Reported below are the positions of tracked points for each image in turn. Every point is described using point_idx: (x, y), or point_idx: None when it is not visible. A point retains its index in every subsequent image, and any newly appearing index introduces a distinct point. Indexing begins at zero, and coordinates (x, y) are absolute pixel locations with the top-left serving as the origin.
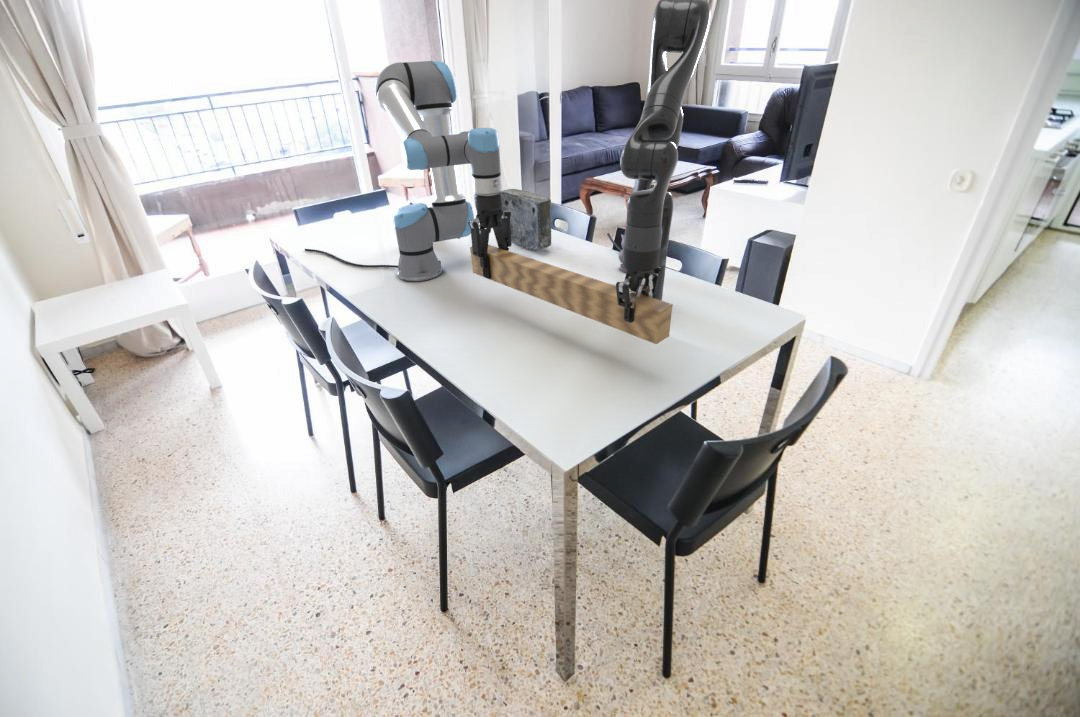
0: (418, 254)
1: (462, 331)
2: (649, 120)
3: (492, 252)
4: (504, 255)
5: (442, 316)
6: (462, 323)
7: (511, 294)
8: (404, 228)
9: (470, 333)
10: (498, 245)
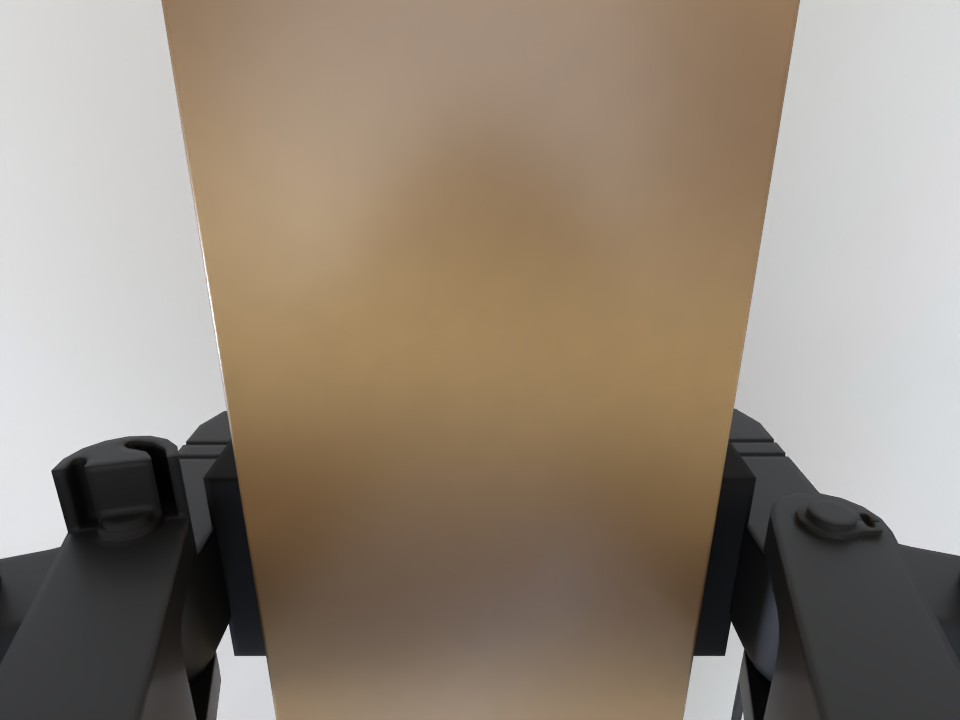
0: None
1: (938, 157)
2: None
3: (590, 530)
4: (564, 59)
5: (819, 458)
6: (830, 267)
7: None
8: None
9: (936, 75)
10: (209, 717)
